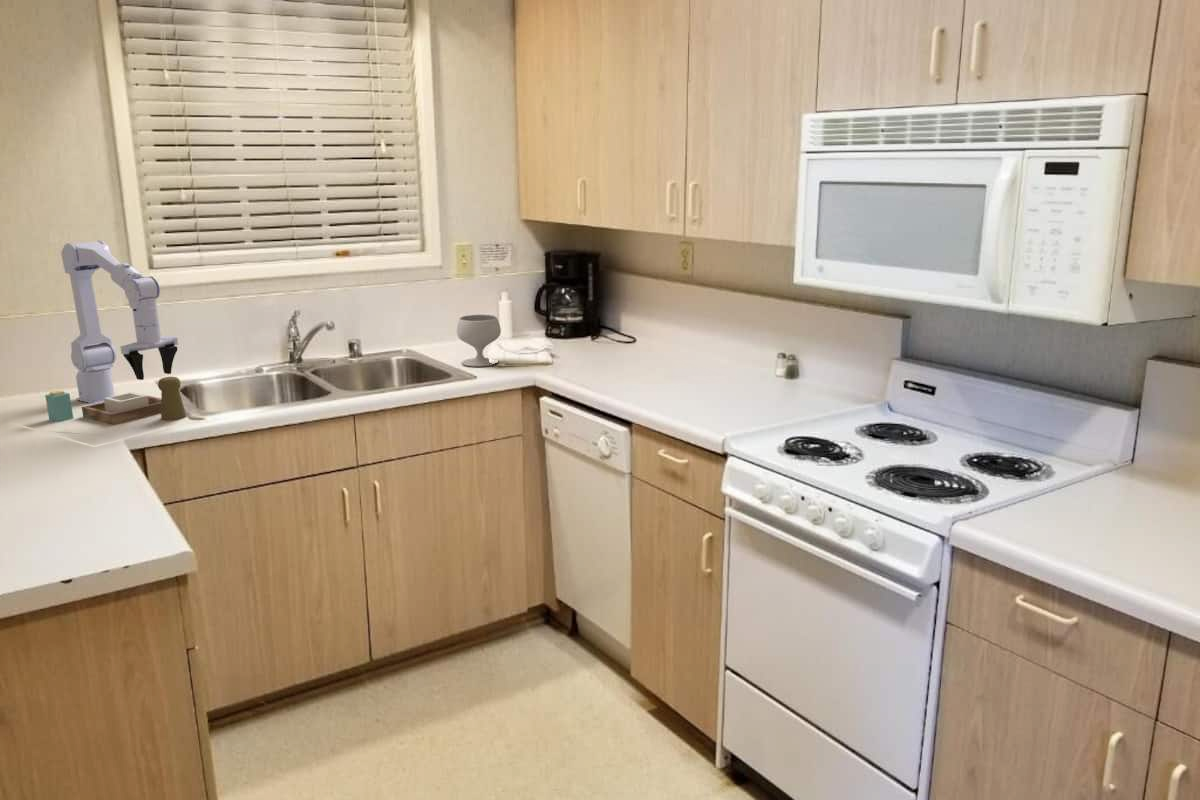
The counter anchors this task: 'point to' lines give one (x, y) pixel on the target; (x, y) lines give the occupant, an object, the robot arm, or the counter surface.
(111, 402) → the frame
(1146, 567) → the counter surface
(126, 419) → the parts box
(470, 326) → the chalice
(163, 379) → the olive pepper mill
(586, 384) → the counter surface
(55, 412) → the plug
